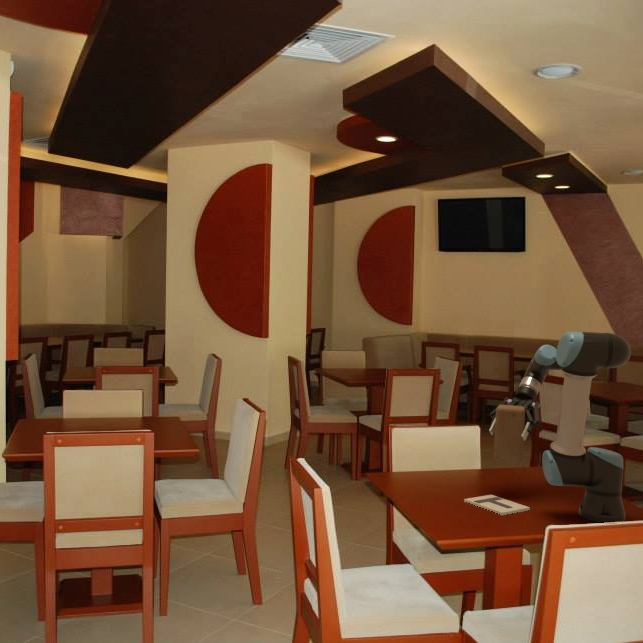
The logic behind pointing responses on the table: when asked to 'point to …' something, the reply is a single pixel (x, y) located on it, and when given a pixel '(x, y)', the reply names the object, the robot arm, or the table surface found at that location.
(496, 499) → the letter board
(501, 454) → the wooden block
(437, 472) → the table surface
